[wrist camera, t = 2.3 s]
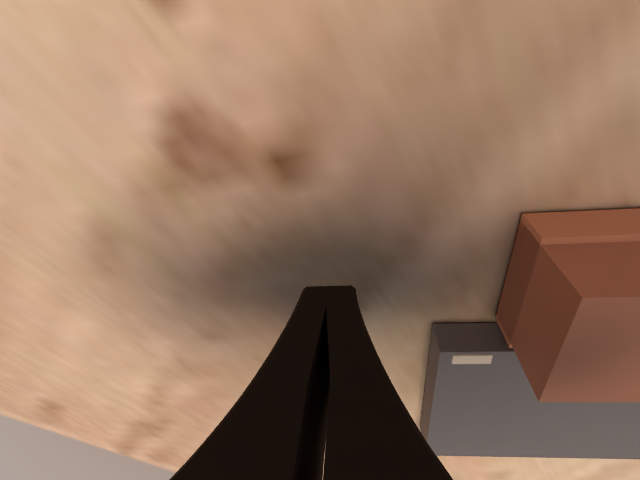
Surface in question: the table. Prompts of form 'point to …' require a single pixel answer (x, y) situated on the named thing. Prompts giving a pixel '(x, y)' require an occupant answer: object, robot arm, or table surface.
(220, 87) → the table surface
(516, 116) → the table surface
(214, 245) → the table surface
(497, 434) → the board
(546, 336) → the stub
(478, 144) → the table surface
